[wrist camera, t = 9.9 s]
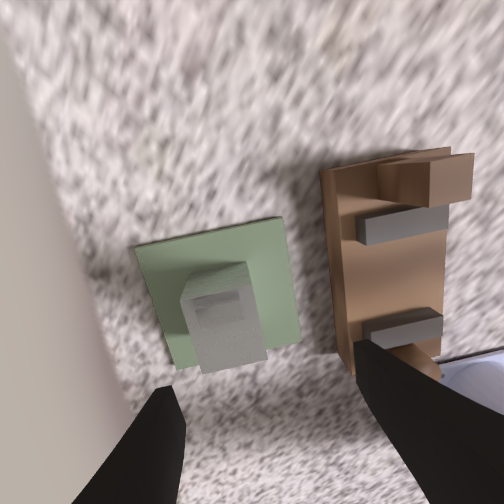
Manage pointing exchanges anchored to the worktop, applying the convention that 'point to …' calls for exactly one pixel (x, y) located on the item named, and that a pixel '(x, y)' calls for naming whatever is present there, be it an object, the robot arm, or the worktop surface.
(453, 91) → the worktop surface
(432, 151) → the plane body
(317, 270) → the worktop surface
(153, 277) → the rubber mat
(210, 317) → the lever cap
